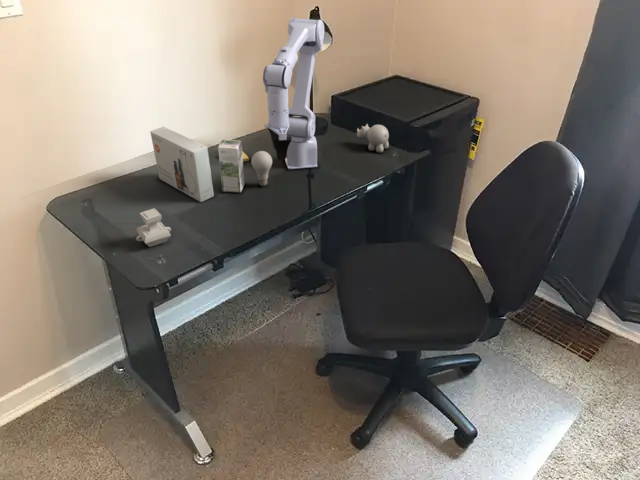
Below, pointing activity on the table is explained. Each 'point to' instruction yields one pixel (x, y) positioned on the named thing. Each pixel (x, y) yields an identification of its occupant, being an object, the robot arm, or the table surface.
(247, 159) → the sticky note pad
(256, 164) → the lightbulb
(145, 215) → the stamp
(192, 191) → the skincare box
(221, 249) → the table surface
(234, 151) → the syrup box
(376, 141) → the toy rhinoceros
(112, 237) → the table surface
